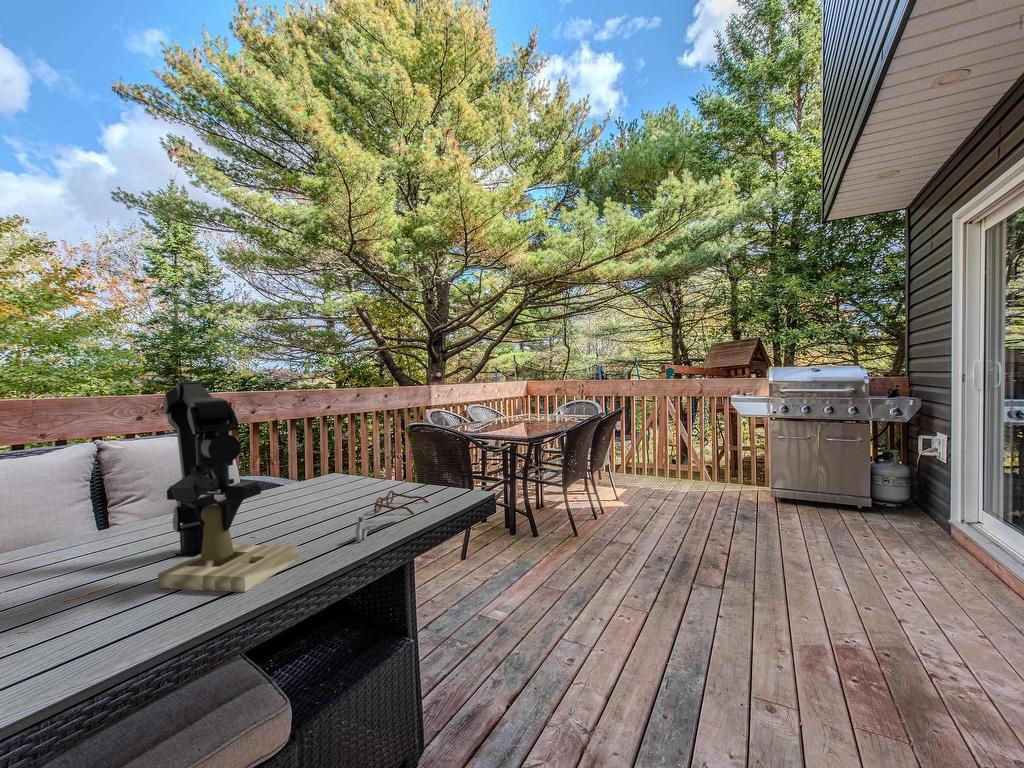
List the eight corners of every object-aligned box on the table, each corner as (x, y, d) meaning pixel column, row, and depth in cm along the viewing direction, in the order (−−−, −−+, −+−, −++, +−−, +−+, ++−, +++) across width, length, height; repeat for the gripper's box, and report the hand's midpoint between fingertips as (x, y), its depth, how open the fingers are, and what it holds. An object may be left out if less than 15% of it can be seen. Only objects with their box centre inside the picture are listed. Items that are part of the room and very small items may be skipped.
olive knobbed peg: (205, 552, 101) (202, 503, 100) (236, 548, 103) (233, 499, 103) (197, 562, 95) (194, 510, 95) (230, 557, 97) (227, 506, 97)
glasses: (391, 503, 151) (391, 488, 151) (429, 503, 149) (428, 488, 149) (373, 516, 138) (372, 499, 138) (414, 516, 136) (413, 499, 136)
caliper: (360, 544, 113) (359, 519, 113) (356, 543, 114) (355, 518, 114) (402, 518, 133) (401, 497, 133) (399, 518, 133) (398, 497, 133)
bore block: (158, 588, 92) (157, 573, 92) (222, 557, 108) (221, 544, 108) (245, 592, 88) (244, 577, 88) (298, 559, 104) (297, 546, 104)
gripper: (139, 465, 92) (144, 542, 92) (219, 465, 89) (223, 544, 89) (188, 456, 103) (191, 524, 103) (260, 455, 100) (264, 526, 100)
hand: (216, 529), depth 99 cm, fingers closed on olive knobbed peg, 5 cm apart
